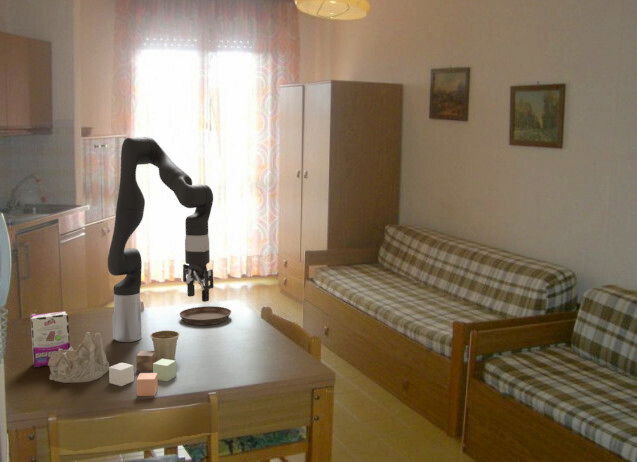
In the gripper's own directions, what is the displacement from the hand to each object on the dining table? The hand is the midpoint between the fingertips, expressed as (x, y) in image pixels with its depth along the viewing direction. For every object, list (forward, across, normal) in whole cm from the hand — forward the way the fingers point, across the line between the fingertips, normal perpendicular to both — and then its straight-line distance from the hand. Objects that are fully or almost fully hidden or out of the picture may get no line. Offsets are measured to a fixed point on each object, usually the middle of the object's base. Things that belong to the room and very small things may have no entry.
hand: (198, 298), depth 210 cm
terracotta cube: (+23, +9, -23) cm, 33 cm away
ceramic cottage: (+23, -19, -31) cm, 43 cm away
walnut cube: (+23, -10, -13) cm, 28 cm away
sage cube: (+23, +1, -13) cm, 26 cm away
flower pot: (+23, -13, -5) cm, 27 cm away
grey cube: (+23, -4, -25) cm, 34 cm away
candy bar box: (+23, -34, -35) cm, 53 cm away
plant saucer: (+23, -46, +31) cm, 60 cm away
